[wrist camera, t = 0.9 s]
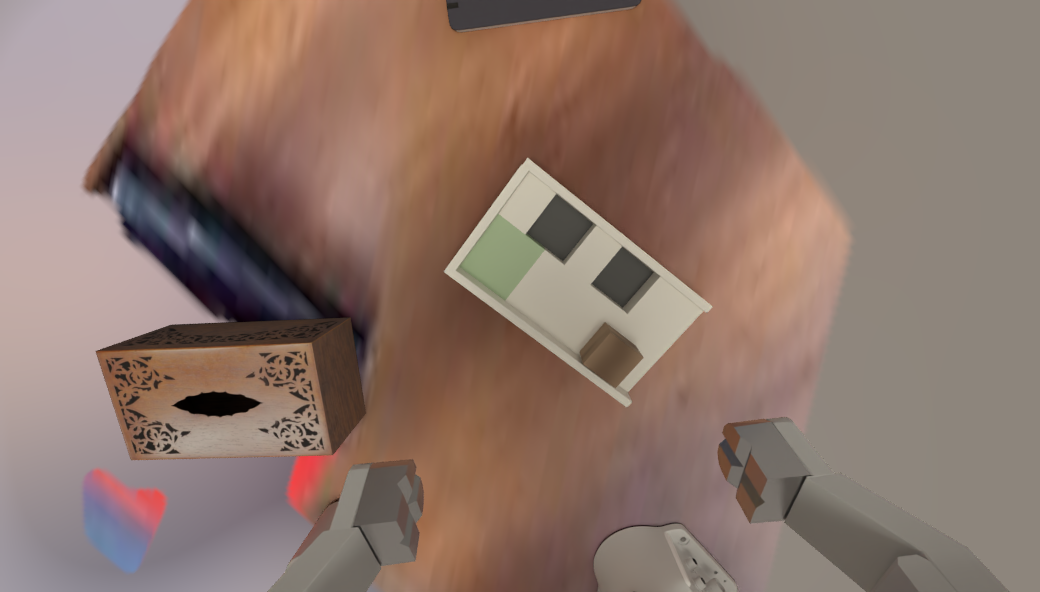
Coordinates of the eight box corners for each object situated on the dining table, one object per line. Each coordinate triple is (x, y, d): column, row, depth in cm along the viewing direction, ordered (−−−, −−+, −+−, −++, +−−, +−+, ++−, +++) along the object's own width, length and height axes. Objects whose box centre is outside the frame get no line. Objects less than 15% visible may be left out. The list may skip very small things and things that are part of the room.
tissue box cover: (196, 417, 60) (130, 460, 50) (171, 324, 56) (95, 351, 47) (366, 412, 58) (332, 455, 49) (351, 316, 55) (311, 342, 45)
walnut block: (635, 345, 51) (643, 357, 47) (609, 374, 52) (615, 388, 48) (605, 322, 50) (610, 332, 46) (579, 351, 51) (583, 364, 47)
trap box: (699, 298, 52) (718, 310, 47) (618, 387, 56) (626, 407, 50) (528, 161, 49) (527, 156, 44) (453, 264, 52) (443, 271, 47)
